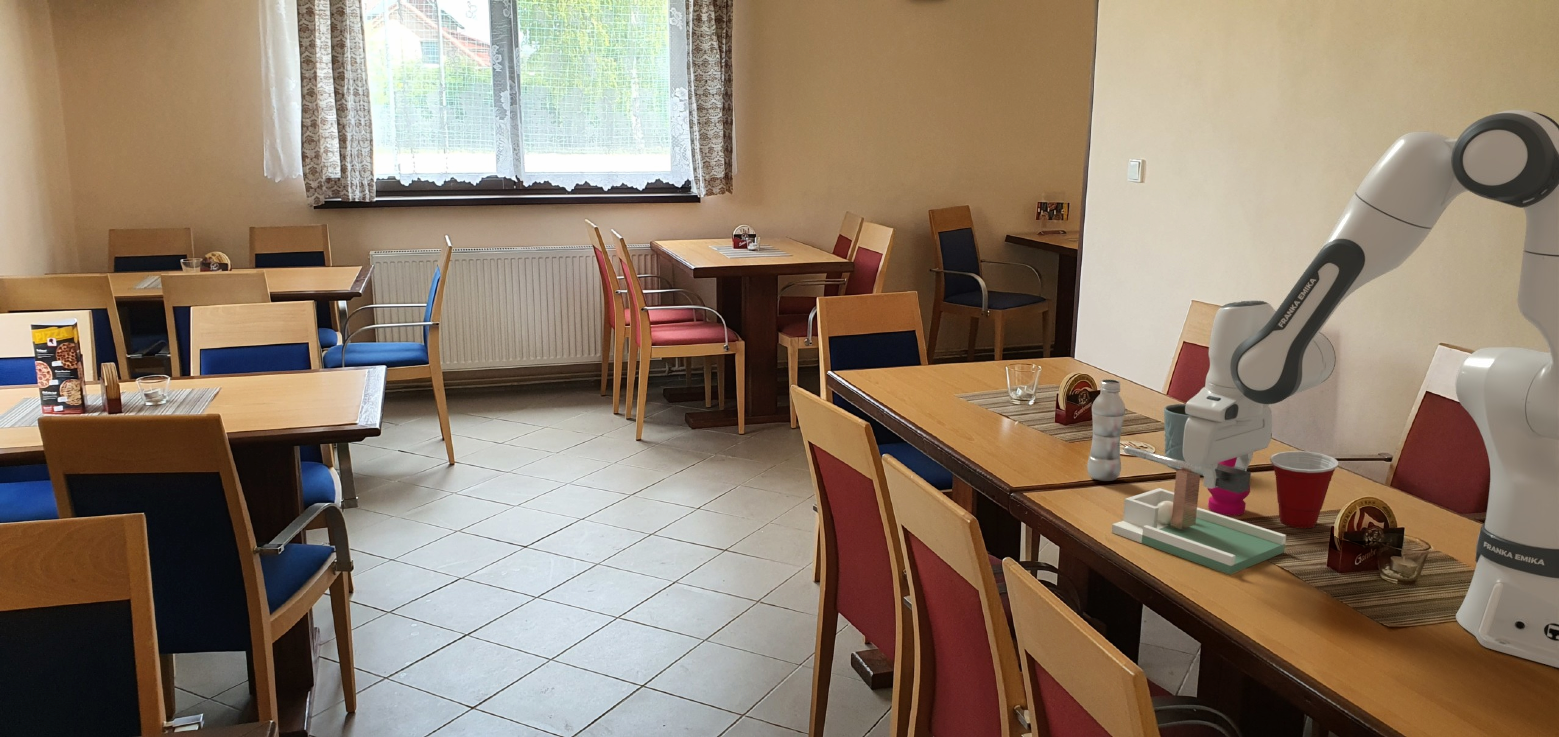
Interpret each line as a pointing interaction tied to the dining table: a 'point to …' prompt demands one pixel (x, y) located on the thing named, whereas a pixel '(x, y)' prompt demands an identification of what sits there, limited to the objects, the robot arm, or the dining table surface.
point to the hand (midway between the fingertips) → (1224, 482)
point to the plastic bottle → (1106, 432)
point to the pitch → (1198, 535)
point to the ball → (1165, 512)
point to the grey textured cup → (1175, 431)
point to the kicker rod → (1193, 484)
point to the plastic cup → (1302, 485)
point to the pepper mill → (1227, 497)
